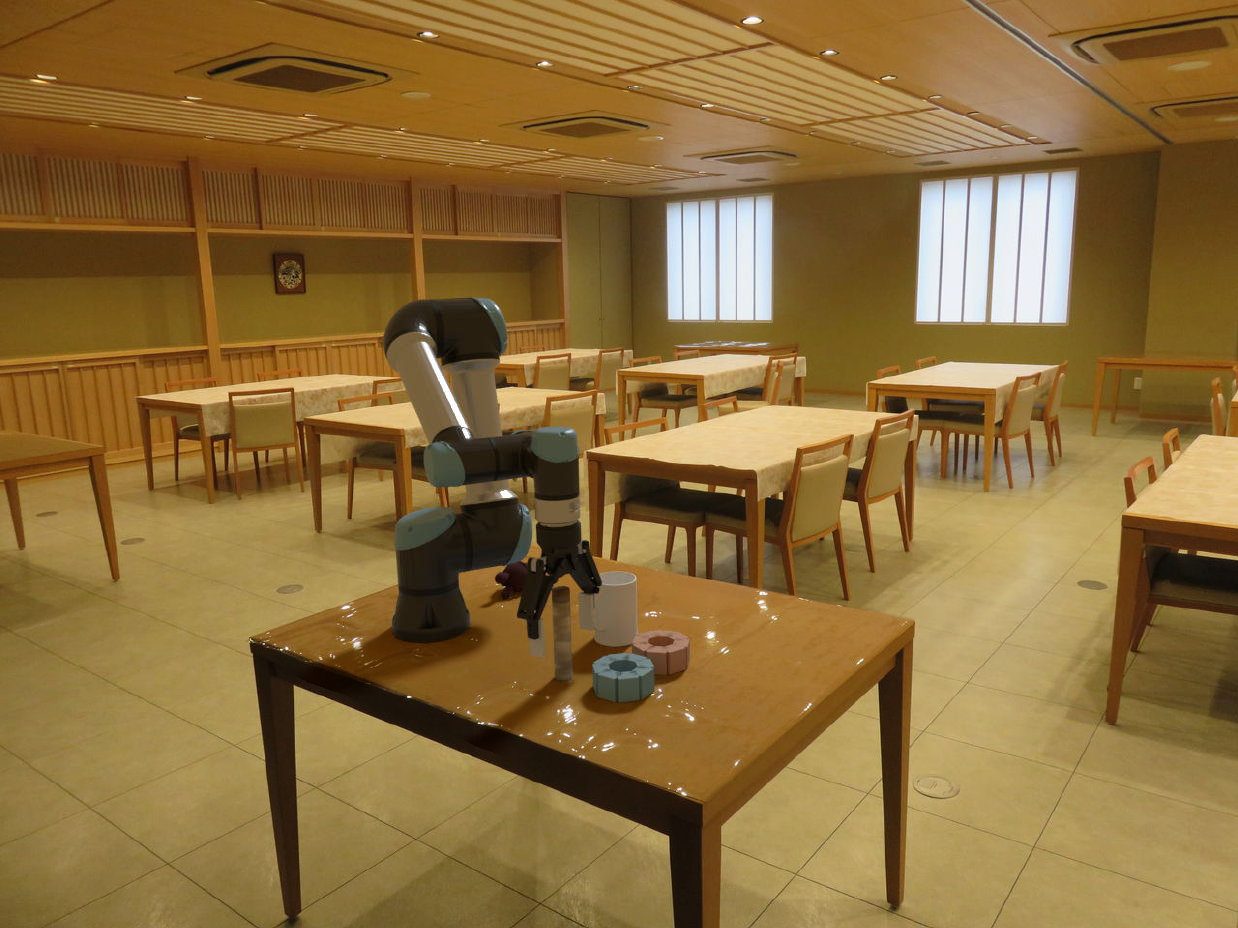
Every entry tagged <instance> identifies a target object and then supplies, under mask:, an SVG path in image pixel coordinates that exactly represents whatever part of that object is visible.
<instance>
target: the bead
mask: <svg viewBox="0 0 1238 928" xmlns="http://www.w3.org/2000/svg"><path fill="white" fill-rule="evenodd" d="M591 667H592V668H591V669H592V670H591V672H592V689H593V690H594V693H595V697H596V696H597V697H598V699H599V698H600V699H603V700H606V701H610V702H613V703H617V702H618V703H627V702H635V701H637V702H638V701H640V699H641V700H643V699H645V698H646V697H648V696H649V695H650V694H652V693H653V692H655V674H654V666H653V664H652V662H651V661H650V659H647V657H644V656H640V655H636V654H632V652H630V653H628V652H622V653H616V654H613V653H611V654H607V655H603V656H601V658H599V659H597V660H596V661H594V662H592V664H591Z"/></svg>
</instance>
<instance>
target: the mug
mask: <svg viewBox="0 0 1238 928" xmlns="http://www.w3.org/2000/svg"><path fill="white" fill-rule="evenodd" d="M599 575H600V578H601V580H602V585H601V586H600V587H599V586H598V587H599V588H600V591H599V593H598V594H596V593H594V635H593V639H594V641H595V643H597V644H599V645H601V646H605V647H613V648H619V647H626V646H629V645H632V642H633V640H634V638H635V636H637V635H638V634H639V628H638V591H637V590H638V589H637V586H638V585H637V583H638V581H637V580H638V579H637V576H636V575H635V574H633V573H631V572H626V571H619V570H618V571H616V570H615V571H606V572H601V573H599Z"/></svg>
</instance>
